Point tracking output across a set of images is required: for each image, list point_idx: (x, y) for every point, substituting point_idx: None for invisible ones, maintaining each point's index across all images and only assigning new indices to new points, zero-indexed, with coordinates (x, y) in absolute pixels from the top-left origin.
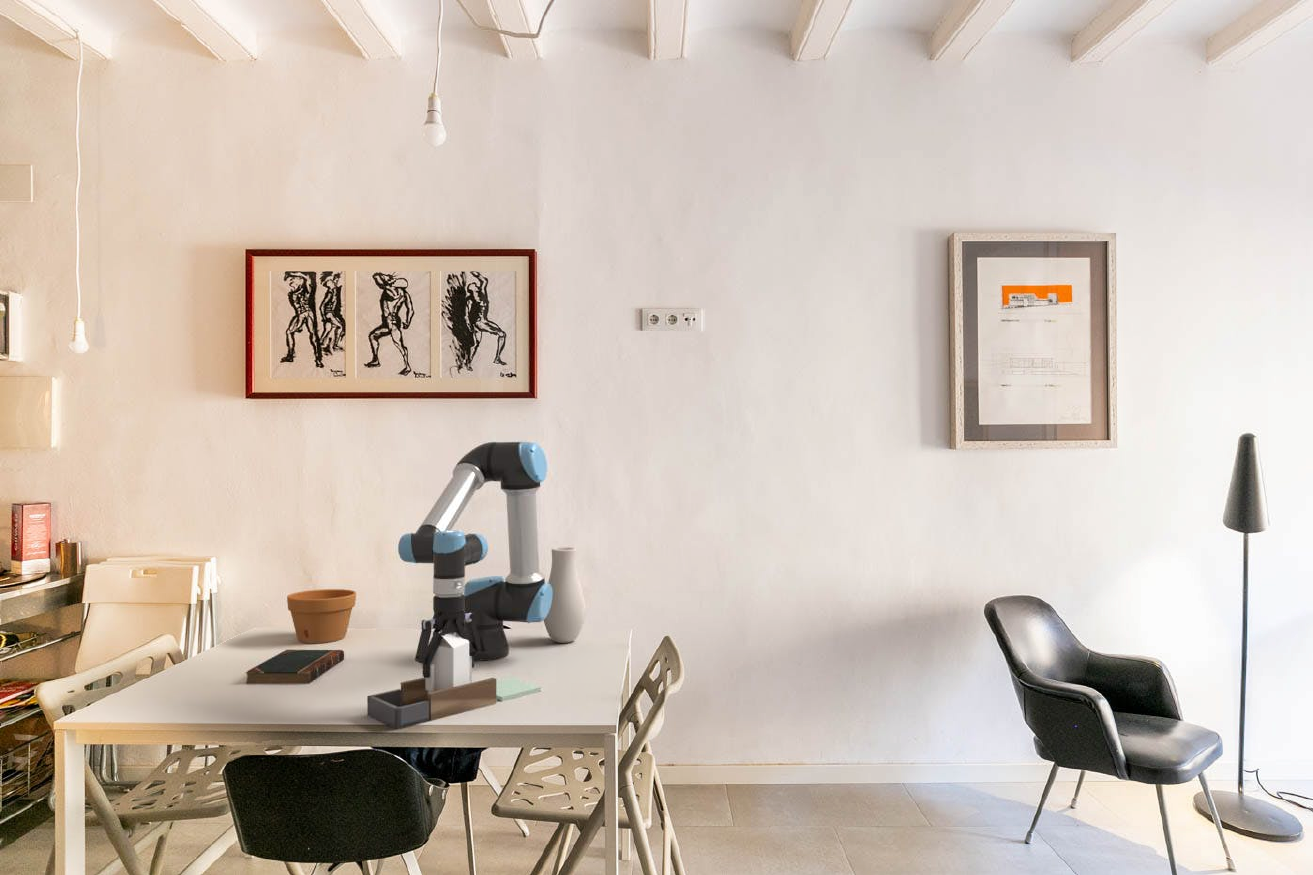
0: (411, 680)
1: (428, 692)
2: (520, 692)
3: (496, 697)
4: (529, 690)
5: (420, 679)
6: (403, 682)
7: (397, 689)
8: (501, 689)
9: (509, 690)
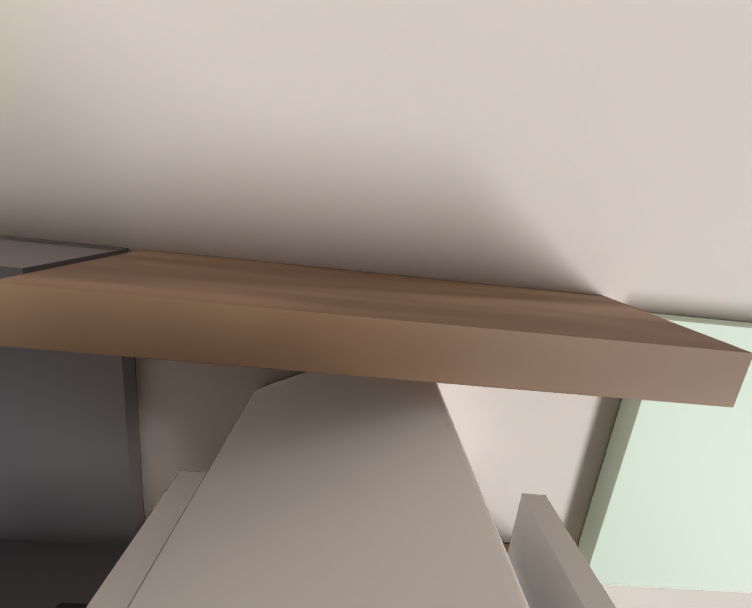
0: (113, 307)
1: (223, 447)
2: (696, 588)
3: (588, 532)
4: (749, 589)
5: (204, 346)
6: (11, 305)
7: (6, 270)
8: (696, 489)
9: (699, 532)
